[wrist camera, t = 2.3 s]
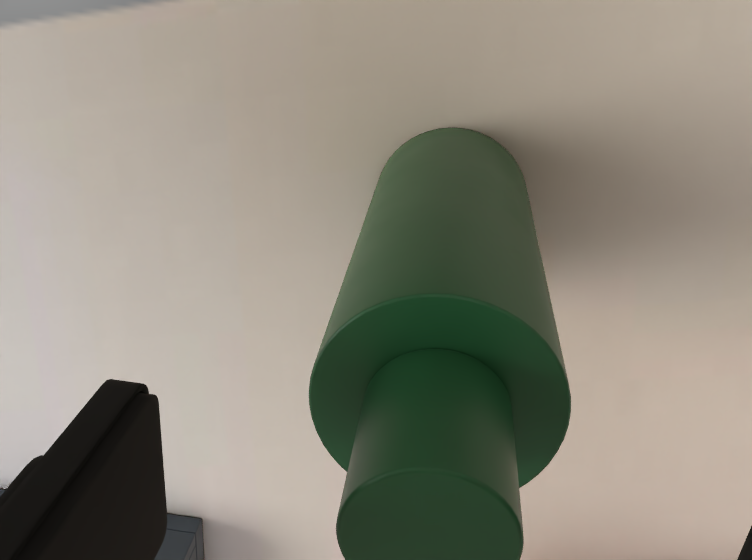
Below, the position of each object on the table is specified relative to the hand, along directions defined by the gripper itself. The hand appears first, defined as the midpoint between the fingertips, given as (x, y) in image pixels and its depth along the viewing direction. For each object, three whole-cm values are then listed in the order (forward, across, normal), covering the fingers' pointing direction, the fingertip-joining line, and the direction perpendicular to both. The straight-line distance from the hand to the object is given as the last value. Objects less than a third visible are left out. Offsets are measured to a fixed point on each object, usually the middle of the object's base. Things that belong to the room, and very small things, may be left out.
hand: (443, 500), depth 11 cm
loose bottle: (+12, 0, 0) cm, 12 cm away
